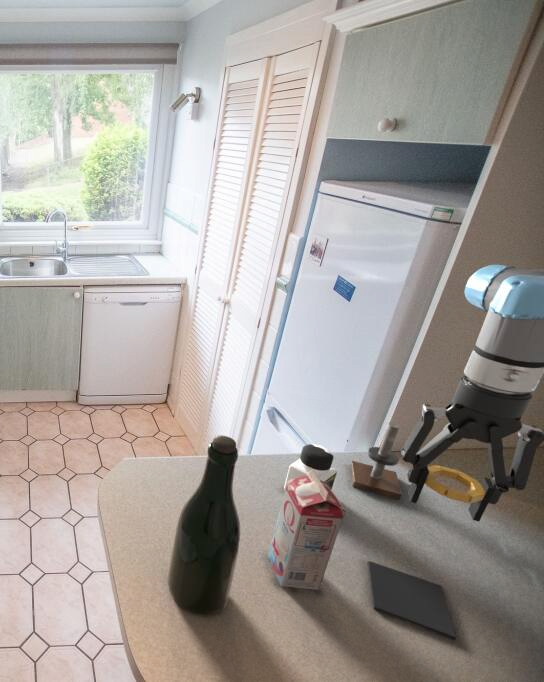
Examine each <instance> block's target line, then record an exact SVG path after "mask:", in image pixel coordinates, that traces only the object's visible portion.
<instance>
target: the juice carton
mask: <svg viewBox="0 0 544 682" xmlns="http://www.w3.org/2000/svg"><path fill="white" fill-rule="evenodd" d="M345 513H346V510H345V509H344V507H343V506H342V504H341V502H340V501H339V499H338V498H337V496H336V495H335V493H333V491H332V489H330V488H329V486H328V485H327V484H326V483H325V482H323V481H321V480H319V478H318V477H317V475H316V474H315V472H314V471H313V469H312V468H311V467H310V471H309V475H305V476H302V477H298V478H295V479H291V480H289V481H288V482H287V486H286V490H284V493H283V498H282V502H281V505H280V510H279V513H278V516H277V517H278V518H277V521H276V525H275V529H274V532H273V536H272V540H271V544H270V546H269V551H268V556H267V557H268V559H269V562H270V564H271V567H272V569H273V572H274V574H275V576H276V578H277V581H278V583H279V586H280V587H287V588H297V589H305V590H314V591H315V590H316V591H319V590H320V588H321V586H322V582H323V579H324V576H325V573H326V570H327V567H328V564H329V561H330V559H331V555H332V552H333V549H334V546H335V543H336V540H337V537H338V534H339V531H340V529H341V526H342V522H343V520H344V516H345Z"/></svg>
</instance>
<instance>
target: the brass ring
mask: <svg viewBox="0 0 544 682" xmlns="http://www.w3.org/2000/svg"><path fill="white" fill-rule="evenodd" d="M427 467H428V470H429V474H428V477H427V479H426V481H425V484H424V485H425V486H426V487H428V488H429V489H431V490H433V491H434V492H436V493H437V494H439V495H440V496H441V497H442V496H443V497H444V496H445V498H448V499H450V500H455V501H458V502H462V503H466V504H471V503H473V502H477V501H481V500H483V498H484V496H485V491H484V489H483V487H482V485H481V482H479V481H478V480H477V479H475V478H474V477H471V476H470V475H468V474H467V473H464V472H463V471H459V470H458V469H454V468H449V467H446V466H442V465H436V464H435V465H431V466H427ZM436 477H444V478H447V479H452V480H455V481H457V482H459V483H460V484H462V485H464V486H465V487H467V488H469V489H468V491H464V490H459V489H456V488H453V487H449V486H447V485H446V484H444V483H442V482H441V481H439V480H437V479H436Z"/></svg>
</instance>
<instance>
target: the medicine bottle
mask: <svg viewBox="0 0 544 682" xmlns="http://www.w3.org/2000/svg"><path fill="white" fill-rule="evenodd" d="M334 458H335V457H334V454H333V452H332V451H331V450H330V449H328V448H326V447H324V446H322V445H319V444H316V443H315V444H313V443H309V444H306V445H304V446H302V449H301V453H300V457H299V459H297V460H296V461H294V462H293V463H291V464H290V465H289V467H288V470H287V476H286V479H285V482H284V487H283V490H284V491H285V490H286V486H287V482H288V481H289V480H291V479H295V478H298V477H302V476H305V475H309V471H310V467H311V468H312V469H313V471H314V472H315V474H316V475H317V477H318V478H319V480H321V481H323V482H325V483H326V484H327V485H328V486H329V488H330V489H331V490H333V486H334V483H335V479H336V476H337V473H338V470H337V469H335V468H333V467H332V464H333V461H334Z"/></svg>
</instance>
